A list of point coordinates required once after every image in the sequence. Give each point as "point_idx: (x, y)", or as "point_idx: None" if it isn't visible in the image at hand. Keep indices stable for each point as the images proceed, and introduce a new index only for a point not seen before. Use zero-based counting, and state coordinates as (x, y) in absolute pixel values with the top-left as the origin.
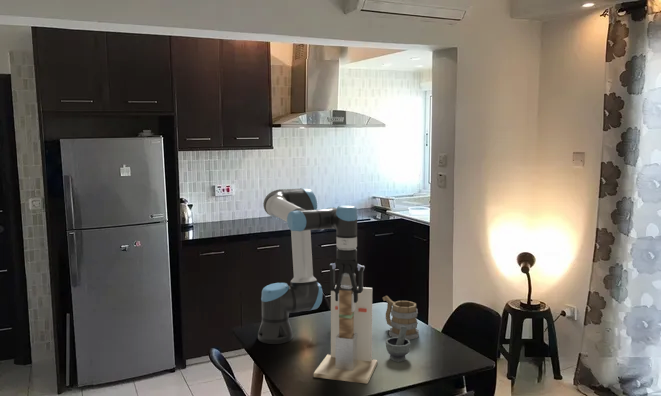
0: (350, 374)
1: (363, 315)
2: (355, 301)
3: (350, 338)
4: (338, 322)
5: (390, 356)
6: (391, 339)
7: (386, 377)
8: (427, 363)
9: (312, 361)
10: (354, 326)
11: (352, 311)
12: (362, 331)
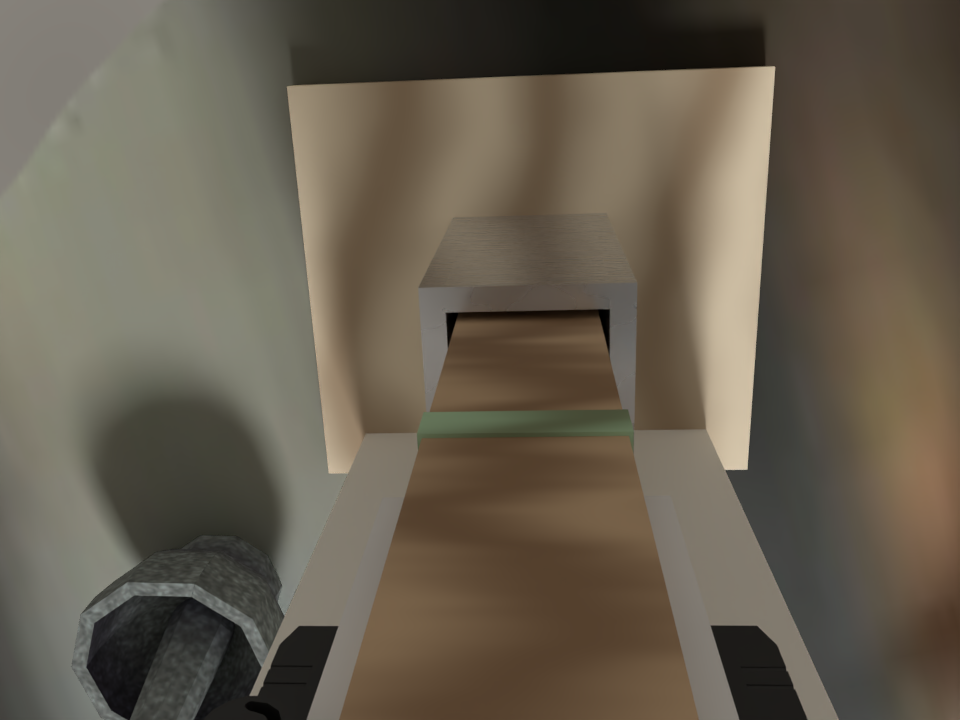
0: (451, 142)
1: None
2: (313, 642)
3: (454, 305)
4: None
5: (266, 577)
6: None
7: (195, 246)
8: (7, 557)
9: (848, 362)
10: None
11: (398, 501)
12: None
